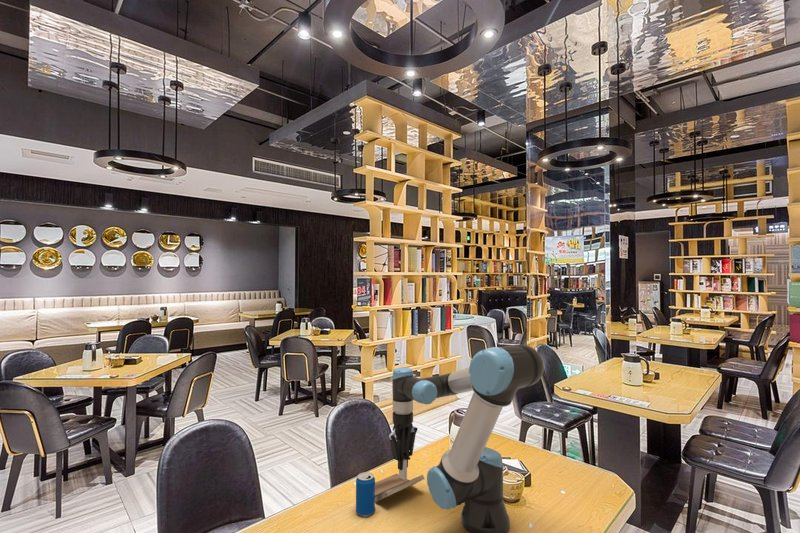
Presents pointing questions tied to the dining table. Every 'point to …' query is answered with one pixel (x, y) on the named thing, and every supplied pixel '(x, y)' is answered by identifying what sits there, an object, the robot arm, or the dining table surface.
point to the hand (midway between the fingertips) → (402, 477)
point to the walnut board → (388, 484)
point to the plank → (399, 488)
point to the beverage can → (365, 494)
